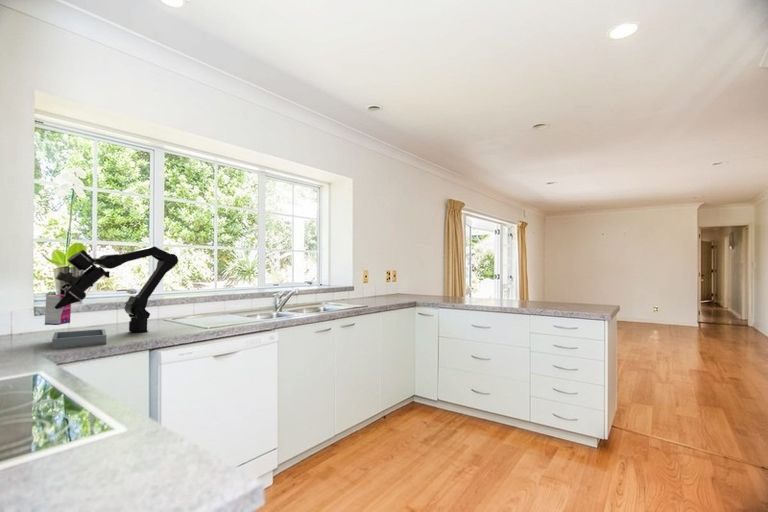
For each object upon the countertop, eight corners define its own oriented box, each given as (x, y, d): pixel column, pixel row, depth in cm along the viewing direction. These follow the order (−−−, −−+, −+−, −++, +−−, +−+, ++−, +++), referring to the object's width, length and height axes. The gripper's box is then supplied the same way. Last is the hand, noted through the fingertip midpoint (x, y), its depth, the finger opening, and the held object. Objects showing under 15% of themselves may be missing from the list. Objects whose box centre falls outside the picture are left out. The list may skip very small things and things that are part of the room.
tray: (104, 337, 165) (104, 328, 165) (106, 344, 152) (106, 335, 152) (54, 341, 155) (54, 332, 155) (51, 349, 143) (52, 339, 143)
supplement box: (58, 325, 154) (59, 295, 154) (44, 324, 154) (44, 295, 154) (71, 322, 160) (71, 294, 160) (57, 322, 160) (57, 294, 160)
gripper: (67, 264, 166) (31, 292, 158) (76, 265, 153) (37, 295, 145) (90, 282, 172) (56, 310, 164) (100, 284, 159) (64, 314, 151)
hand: (53, 307), depth 156 cm, fingers closed on supplement box, 8 cm apart
